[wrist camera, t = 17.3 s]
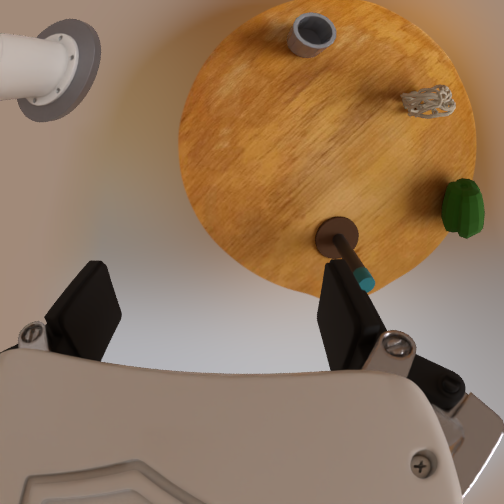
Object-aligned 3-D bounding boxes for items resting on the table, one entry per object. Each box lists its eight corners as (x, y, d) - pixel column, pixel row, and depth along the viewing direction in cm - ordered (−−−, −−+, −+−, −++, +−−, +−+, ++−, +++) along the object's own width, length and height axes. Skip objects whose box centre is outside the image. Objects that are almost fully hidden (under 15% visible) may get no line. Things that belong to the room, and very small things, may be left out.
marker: (330, 245, 41) (356, 293, 30) (332, 232, 40) (360, 278, 29) (343, 245, 41) (372, 292, 30) (345, 232, 40) (377, 277, 29)
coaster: (313, 257, 43) (313, 259, 42) (317, 216, 40) (318, 217, 39) (353, 257, 43) (354, 258, 42) (360, 217, 40) (361, 218, 39)
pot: (286, 56, 29) (293, 45, 23) (286, 25, 26) (292, 10, 21) (323, 59, 29) (336, 50, 23) (322, 29, 26) (335, 16, 21)
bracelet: (435, 105, 30) (467, 108, 23) (399, 119, 32) (429, 123, 25) (426, 82, 29) (458, 81, 22) (389, 94, 30) (419, 93, 23)
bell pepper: (445, 199, 31) (442, 250, 37) (492, 200, 27) (484, 250, 33) (437, 173, 37) (438, 220, 42) (479, 173, 32) (475, 220, 38)
